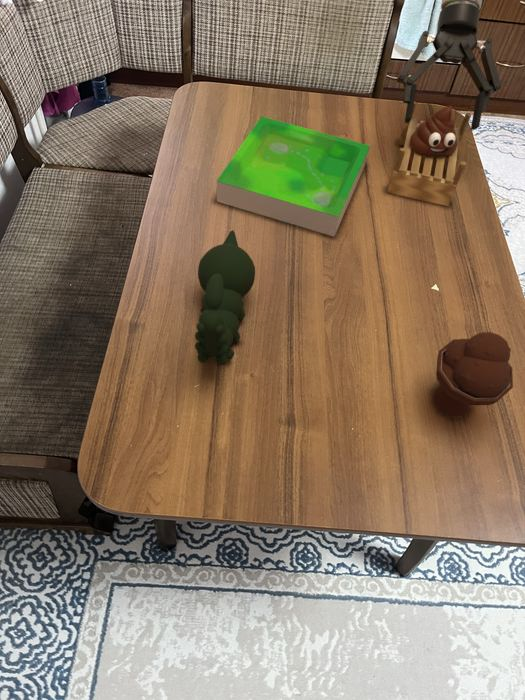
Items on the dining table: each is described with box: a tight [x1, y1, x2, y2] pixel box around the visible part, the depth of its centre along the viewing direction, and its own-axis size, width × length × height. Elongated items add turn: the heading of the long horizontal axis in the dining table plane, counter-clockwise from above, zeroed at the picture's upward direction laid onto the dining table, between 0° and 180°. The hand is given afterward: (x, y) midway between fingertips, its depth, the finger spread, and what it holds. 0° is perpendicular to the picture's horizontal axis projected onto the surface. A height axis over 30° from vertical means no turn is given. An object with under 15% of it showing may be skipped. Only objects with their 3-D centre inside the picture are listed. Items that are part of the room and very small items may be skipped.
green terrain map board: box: [216, 116, 371, 238], centre depth 111 cm, size 25×25×5 cm
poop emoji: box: [410, 105, 457, 157], centre depth 110 cm, size 10×8×9 cm
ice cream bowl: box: [434, 331, 514, 418], centre depth 78 cm, size 11×11×15 cm
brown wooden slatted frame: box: [386, 100, 472, 207], centre depth 114 cm, size 13×20×10 cm, turn 164°
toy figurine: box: [194, 230, 256, 366], centre depth 83 cm, size 9×19×25 cm
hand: (441, 124), depth 108 cm, fingers open, 13 cm apart
